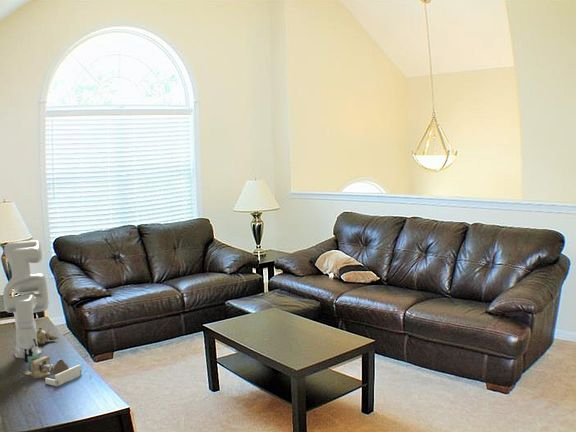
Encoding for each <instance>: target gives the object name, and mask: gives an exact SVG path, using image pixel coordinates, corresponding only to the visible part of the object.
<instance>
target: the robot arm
mask: <svg viewBox="0 0 576 432" xmlns="http://www.w3.org/2000/svg"><path fill="white" fill-rule="evenodd" d="M3 250H4V255H5V258H6V260H7V263H8V264H9V266H10V269H11V270H10V271H11V278H10V279H9V280H8V281H7V283H6V284H5V287H4V288H3V289H4V290H3V292H2V293H3V294H2V295H3V297H2V298H3V307H4V310H5V312H7V313H13V315H14V323H15V345H16V346H15V347H14V350H16V351H17V352H16V353H14V356H15V358H17V359H24V362H25V363H27V364H28V356H30V355H32V354H35V353H39V355H40V354H42V349H40V348H39V346H38V345H39V343H38V342H37V333H36V329H37V324H36V322H37V321H36V320H35V318H34V317H35V316H34V313H40V312H45V311H47V310H48V309H49V307H50V306H49V303H50V302H49V294H48V293H49V292H48V285H47V279H46V276H45V274H43V273H31V266H30V264H38V263H41V261H42V260H43V253H42V245H41V242H40V241H39V240H37V239H34V240H33V239H32V240H22V241H21V240H19V241H12V242H8V243H6V244H5V245H4V247H3ZM12 290H13V291H14V292H15V293H16V294H23V295H15V296H10V294H11V291H12ZM35 292H36V293H35ZM27 293H28V294H27ZM29 293H33V294H29Z"/></svg>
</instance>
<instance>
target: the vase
mask: <svg viewBox="0 0 576 432" xmlns="http://www.w3.org/2000/svg"><path fill="white" fill-rule="evenodd" d="M54 365H55V367H54V369H53V374H52V375H53V378H55V375H56V374H59V373H61V372H63V371H65V370H68V369H69V368H70V366H69V365H68V364H67V363H66V362H65V361H64V360H63V359H59V360H57V362H56V363H55V364H54Z"/></svg>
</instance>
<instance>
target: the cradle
mask: <svg viewBox="0 0 576 432" xmlns="http://www.w3.org/2000/svg"><path fill="white" fill-rule="evenodd" d="M80 376H82V365H81V364H77V365H75V366H72V367H69V369H68V370H65V371H63V372H61V373H59V374H56V375H55V377H54V378H49V377H44V379H45V385H51V386H55V387H59V386H60V385H63V384H66V383H67V382H69V381H72V380H74V379H77V378H79V377H80Z"/></svg>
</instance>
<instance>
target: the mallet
mask: <svg viewBox="0 0 576 432" xmlns="http://www.w3.org/2000/svg"><path fill="white" fill-rule="evenodd" d="M39 358H41V356H40V354H39V353H35V354H32V355H30V356H28V363H27V366H28V371H29V372H32V370H31V362H32V361H34V360H37V359H39ZM55 365H56V364H54V363H52V364H51V363H50V365H49V364H44V363H42V362H41V363H39V370H44V371H48V372H49V373H53V369H54V367H55Z"/></svg>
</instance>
